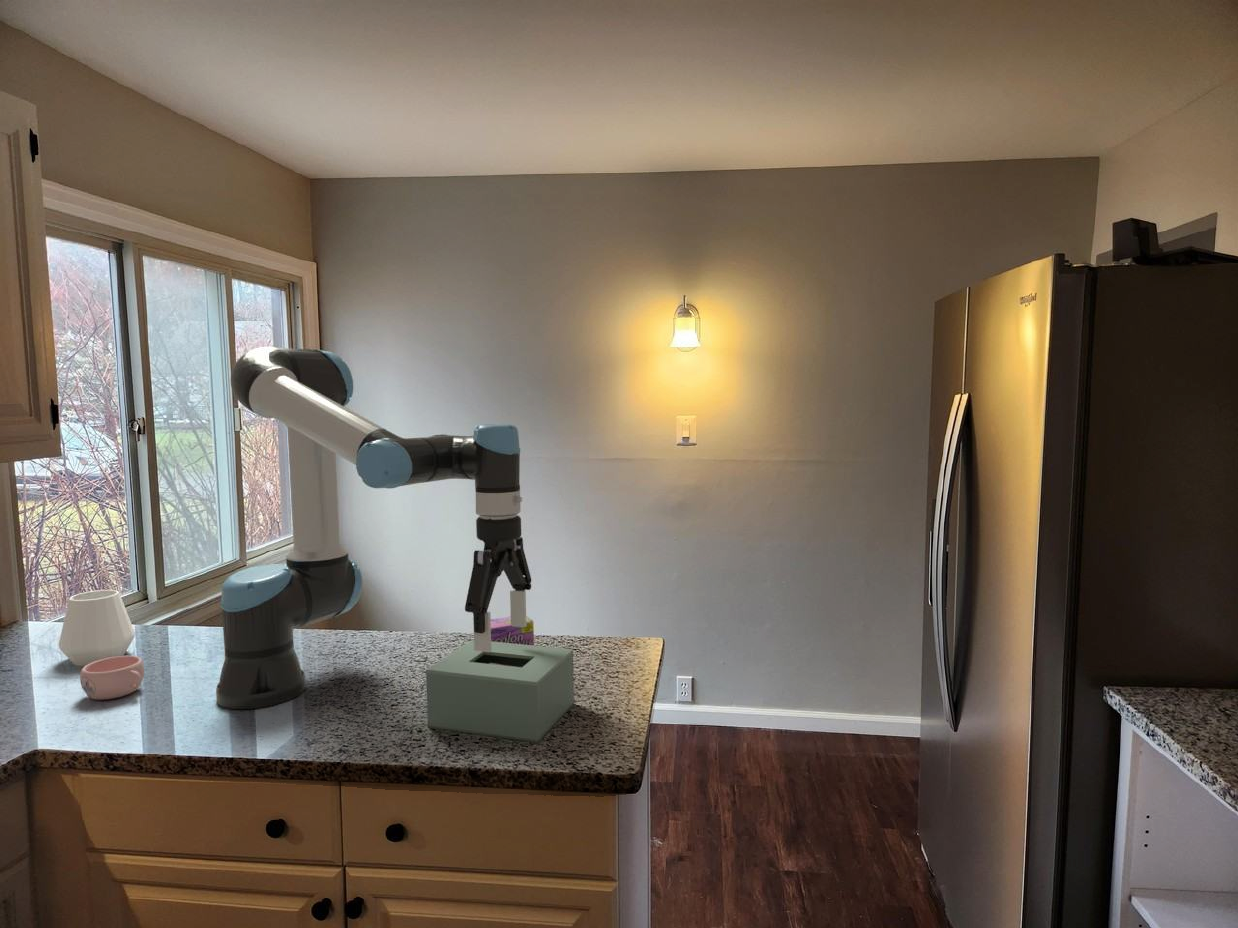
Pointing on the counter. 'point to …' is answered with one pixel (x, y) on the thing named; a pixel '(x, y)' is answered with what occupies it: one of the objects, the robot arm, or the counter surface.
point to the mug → (112, 677)
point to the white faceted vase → (95, 627)
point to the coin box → (501, 690)
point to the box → (512, 631)
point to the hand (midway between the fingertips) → (501, 638)
